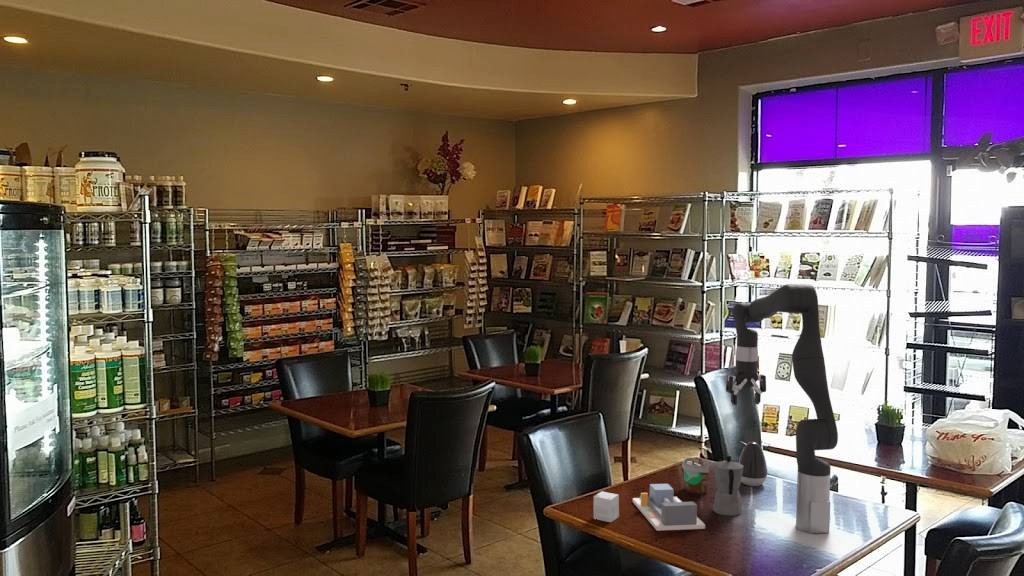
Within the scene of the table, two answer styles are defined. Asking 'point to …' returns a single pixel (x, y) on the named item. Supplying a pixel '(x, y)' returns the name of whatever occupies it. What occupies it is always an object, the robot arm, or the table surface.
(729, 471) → the coffeepot
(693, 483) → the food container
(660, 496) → the plunger
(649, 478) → the table surface
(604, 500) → the skincare box
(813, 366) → the robot arm
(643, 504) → the block
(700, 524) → the bench
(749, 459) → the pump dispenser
